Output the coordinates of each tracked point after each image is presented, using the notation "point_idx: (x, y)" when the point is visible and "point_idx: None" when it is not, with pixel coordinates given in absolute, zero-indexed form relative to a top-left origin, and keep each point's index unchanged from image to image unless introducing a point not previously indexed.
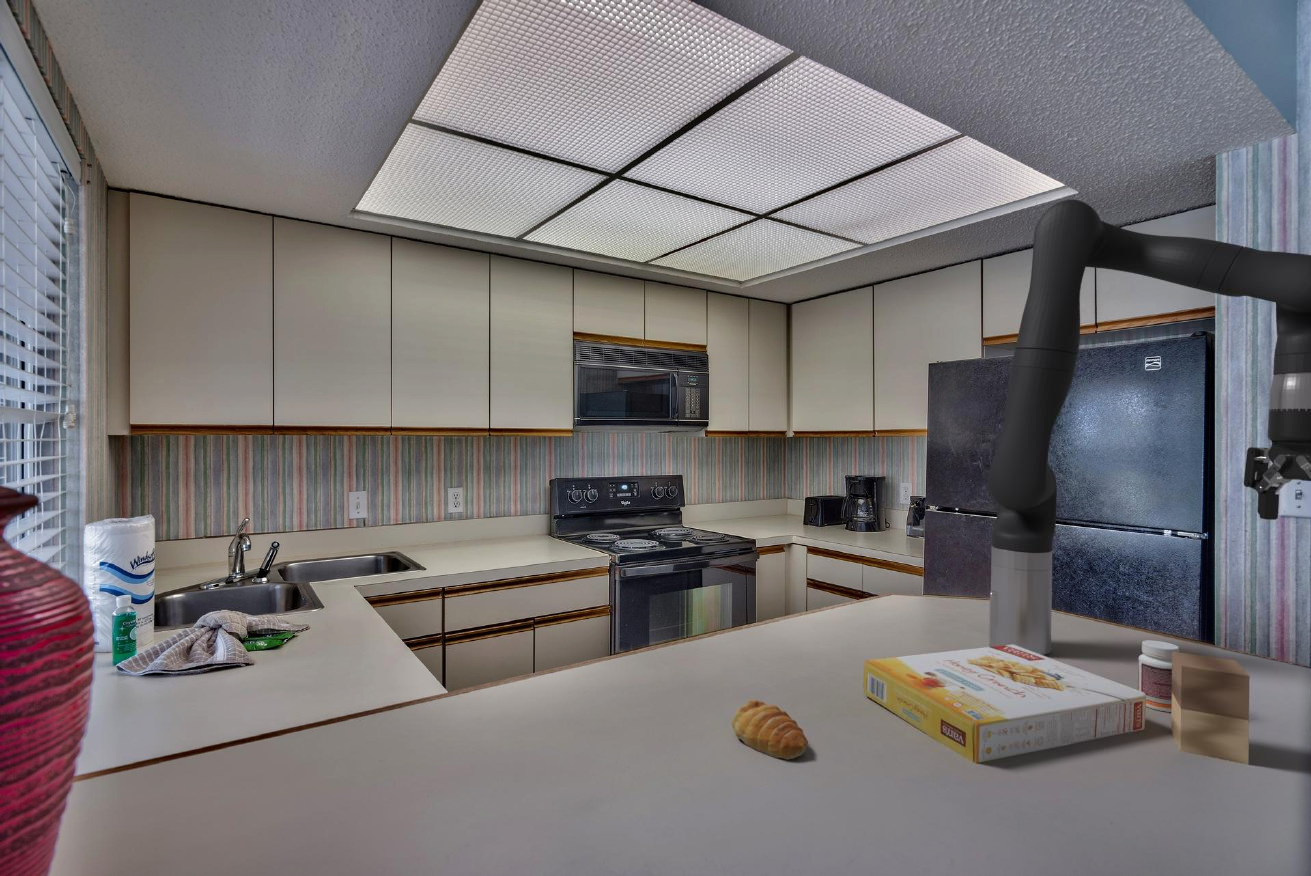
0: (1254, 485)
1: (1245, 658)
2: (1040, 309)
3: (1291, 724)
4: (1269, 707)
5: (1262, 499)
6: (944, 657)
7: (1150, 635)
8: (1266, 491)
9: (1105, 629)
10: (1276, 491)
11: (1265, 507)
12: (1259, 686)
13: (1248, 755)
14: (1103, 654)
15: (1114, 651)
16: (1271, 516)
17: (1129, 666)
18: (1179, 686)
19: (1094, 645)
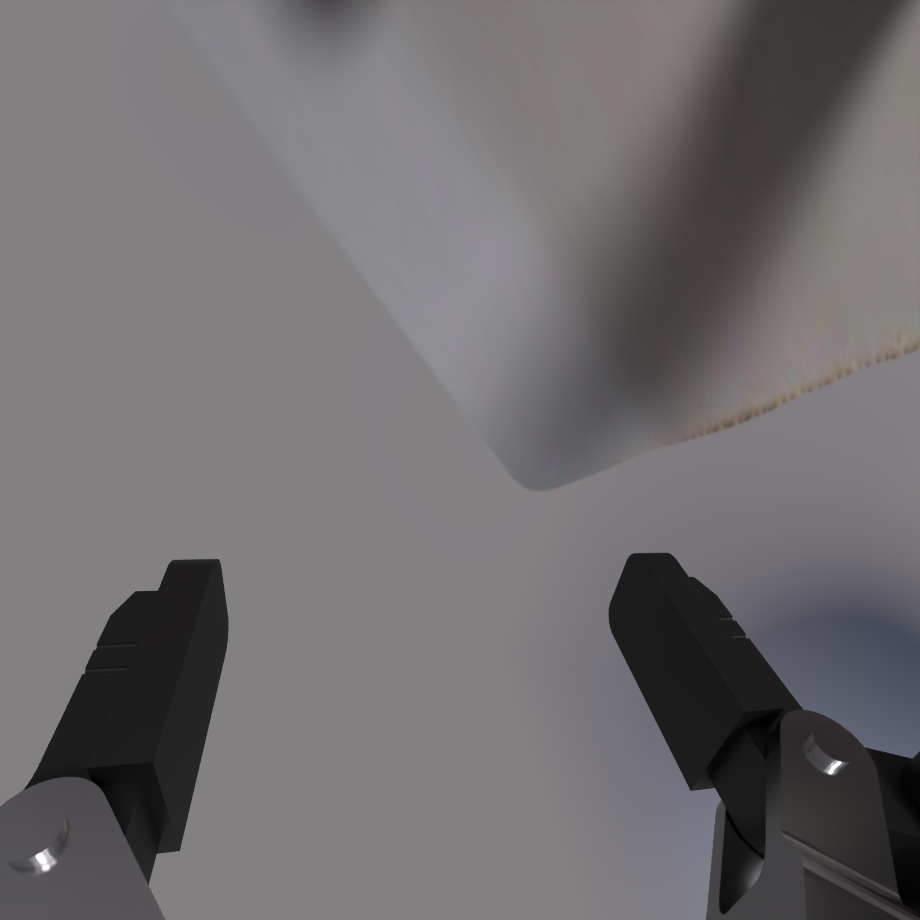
0: (900, 788)
1: (596, 446)
2: None
3: (243, 88)
4: (350, 165)
5: (733, 662)
6: None
7: (768, 388)
8: (760, 749)
9: (847, 319)
10: (721, 809)
11: (674, 612)
12: (465, 298)
13: None
14: (753, 95)
15: (751, 162)
16: (627, 601)
17: (663, 70)
18: None
19: (804, 150)
